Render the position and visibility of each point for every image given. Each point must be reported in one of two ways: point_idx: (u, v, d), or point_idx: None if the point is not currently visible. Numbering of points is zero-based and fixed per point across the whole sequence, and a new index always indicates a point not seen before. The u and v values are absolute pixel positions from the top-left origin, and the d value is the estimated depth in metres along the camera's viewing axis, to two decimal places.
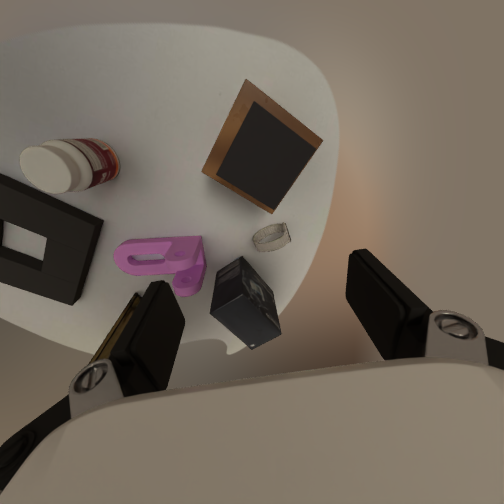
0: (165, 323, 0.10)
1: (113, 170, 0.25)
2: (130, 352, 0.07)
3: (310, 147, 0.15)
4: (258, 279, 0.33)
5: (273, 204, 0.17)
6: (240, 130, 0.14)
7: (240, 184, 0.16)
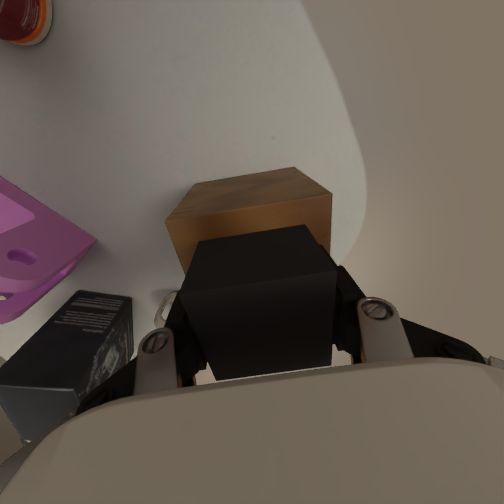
0: None
1: (14, 34, 0.11)
2: (186, 322, 0.08)
3: (328, 360, 0.09)
4: (126, 338, 0.23)
5: (222, 375, 0.10)
6: (279, 282, 0.07)
7: (203, 331, 0.08)
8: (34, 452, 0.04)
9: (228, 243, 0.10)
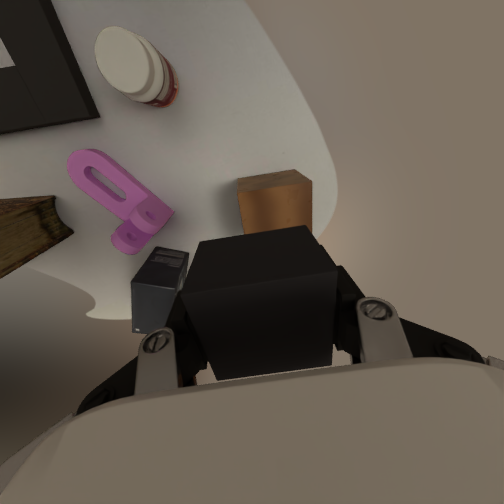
0: None
1: (163, 105, 0.23)
2: (187, 321, 0.08)
3: (328, 360, 0.09)
4: (184, 279, 0.35)
5: (223, 375, 0.10)
6: (280, 282, 0.07)
7: (204, 331, 0.08)
8: (34, 452, 0.04)
9: (229, 243, 0.10)
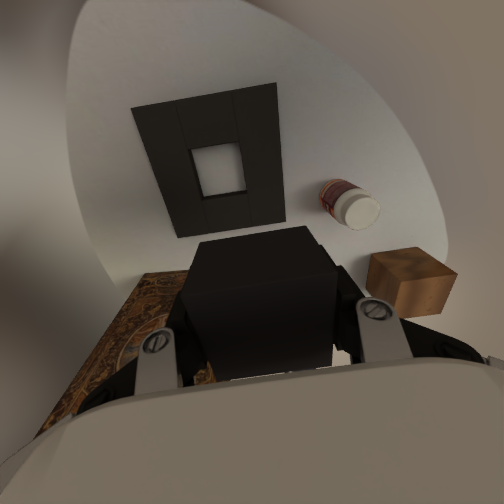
0: None
1: None
2: (187, 322, 0.08)
3: (328, 360, 0.09)
4: None
5: (223, 376, 0.10)
6: (281, 283, 0.07)
7: (204, 332, 0.08)
8: (34, 452, 0.04)
9: (229, 244, 0.10)
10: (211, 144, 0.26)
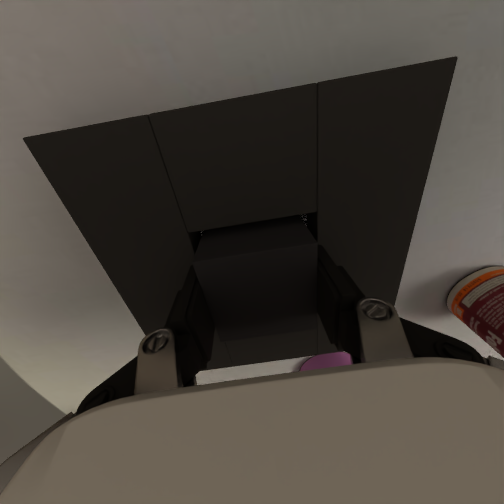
0: None
1: None
2: (186, 322, 0.08)
3: (314, 323, 0.11)
4: None
5: (225, 337, 0.12)
6: (272, 252, 0.09)
7: (211, 295, 0.10)
8: (34, 452, 0.04)
9: (230, 226, 0.12)
10: (247, 220, 0.10)
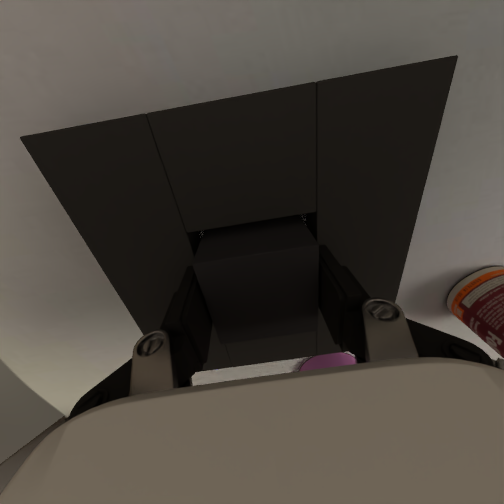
0: (203, 303, 0.10)
1: None
2: (182, 324, 0.08)
3: (315, 325, 0.11)
4: None
5: (225, 339, 0.11)
6: (273, 253, 0.09)
7: (211, 297, 0.10)
8: (34, 452, 0.04)
9: (231, 227, 0.12)
10: (246, 220, 0.10)
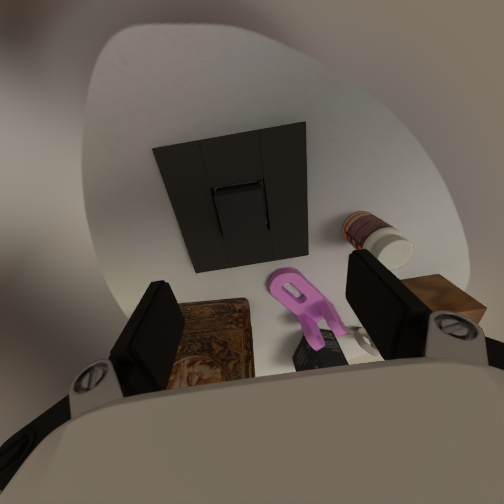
0: (165, 323, 0.10)
1: None
2: (130, 352, 0.07)
3: (265, 230, 0.26)
4: None
5: (226, 237, 0.26)
6: (245, 192, 0.23)
7: (220, 213, 0.24)
8: (34, 452, 0.04)
9: (228, 187, 0.26)
10: (235, 182, 0.25)
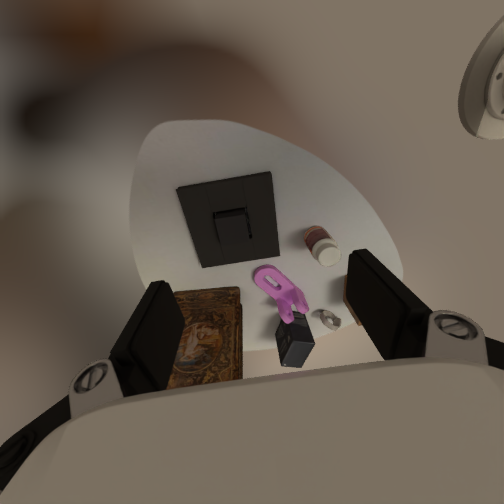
0: (165, 323, 0.09)
1: None
2: (130, 352, 0.07)
3: (248, 239, 0.39)
4: None
5: (222, 244, 0.39)
6: (234, 216, 0.37)
7: (218, 229, 0.38)
8: (34, 452, 0.04)
9: (224, 211, 0.39)
10: (228, 209, 0.38)
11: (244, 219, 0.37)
